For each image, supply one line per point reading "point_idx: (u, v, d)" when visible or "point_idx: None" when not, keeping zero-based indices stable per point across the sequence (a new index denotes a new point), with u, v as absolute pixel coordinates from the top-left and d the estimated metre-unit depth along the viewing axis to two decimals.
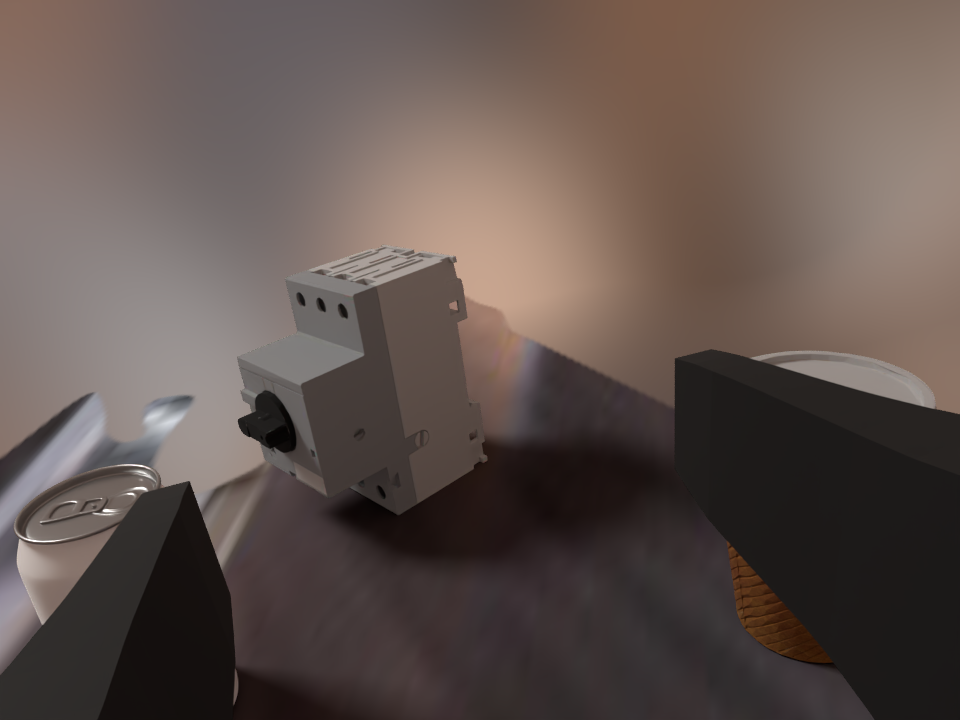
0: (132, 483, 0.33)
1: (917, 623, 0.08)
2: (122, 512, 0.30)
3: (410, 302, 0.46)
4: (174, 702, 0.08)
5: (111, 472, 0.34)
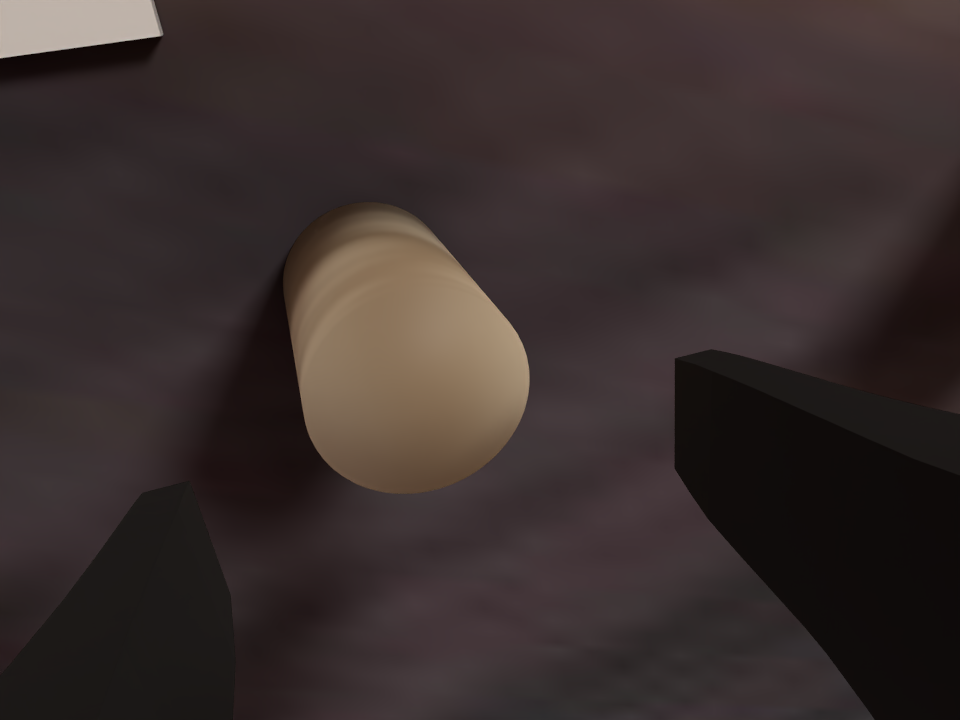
0: None
1: (917, 623, 0.08)
2: None
3: None
4: (174, 702, 0.08)
5: None
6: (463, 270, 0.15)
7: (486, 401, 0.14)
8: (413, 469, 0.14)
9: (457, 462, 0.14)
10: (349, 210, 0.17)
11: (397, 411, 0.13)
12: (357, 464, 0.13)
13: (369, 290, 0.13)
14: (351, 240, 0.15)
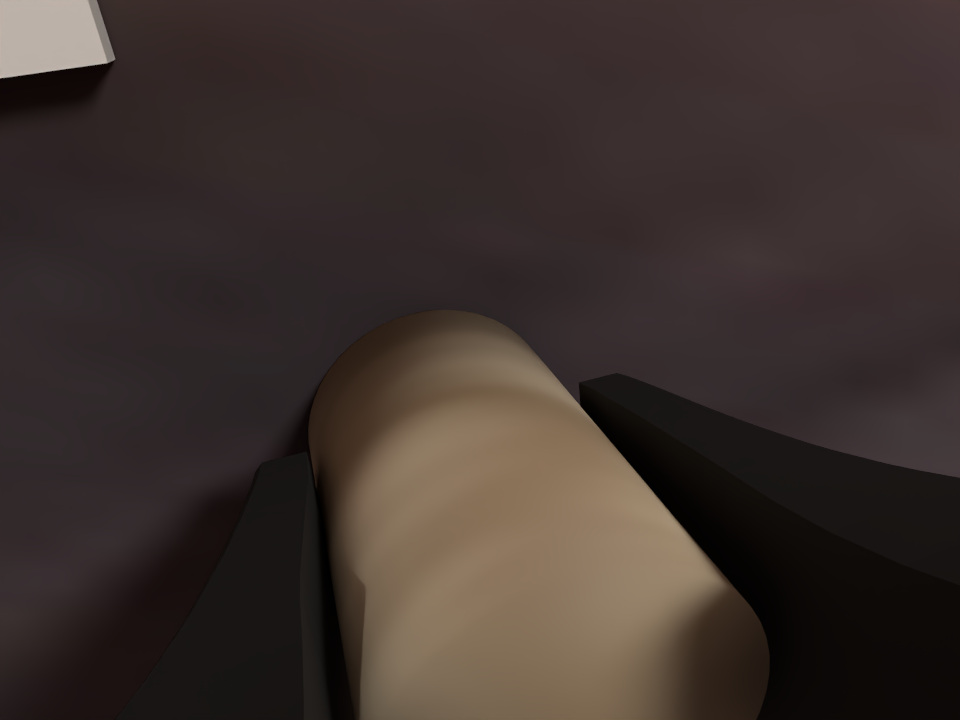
0: None
1: (786, 669, 0.07)
2: None
3: None
4: (327, 655, 0.08)
5: None
6: (623, 459, 0.09)
7: None
8: None
9: None
10: (414, 328, 0.11)
11: None
12: None
13: (495, 563, 0.06)
14: (431, 403, 0.09)
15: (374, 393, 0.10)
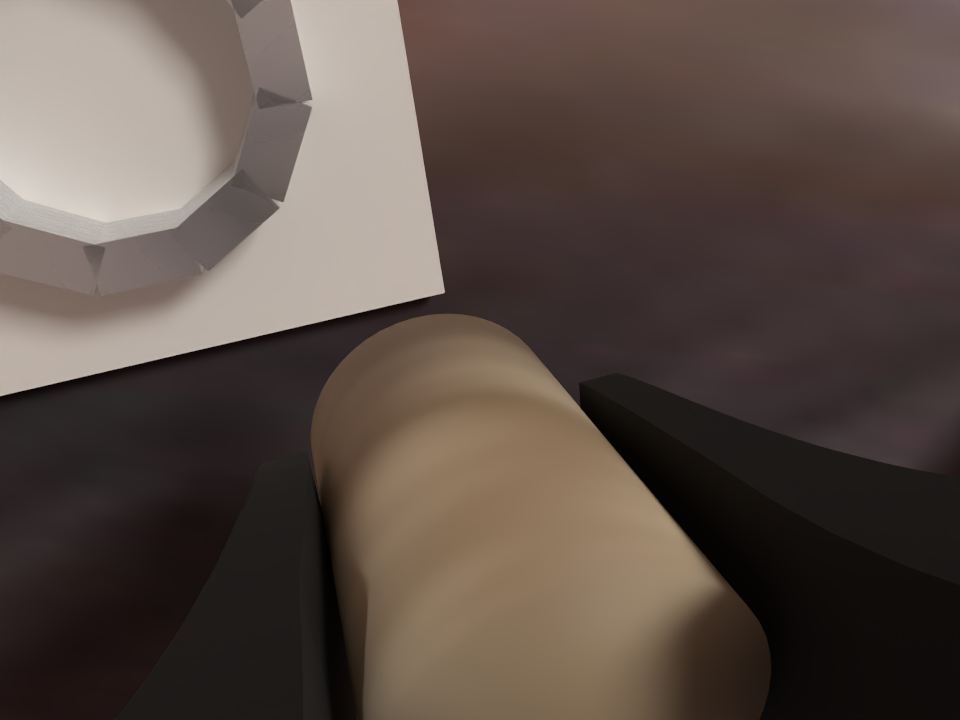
0: None
1: (786, 669, 0.07)
2: None
3: None
4: (326, 655, 0.08)
5: None
6: (621, 461, 0.09)
7: None
8: None
9: None
10: (411, 334, 0.11)
11: None
12: None
13: (490, 573, 0.07)
14: (428, 410, 0.09)
15: (373, 401, 0.10)
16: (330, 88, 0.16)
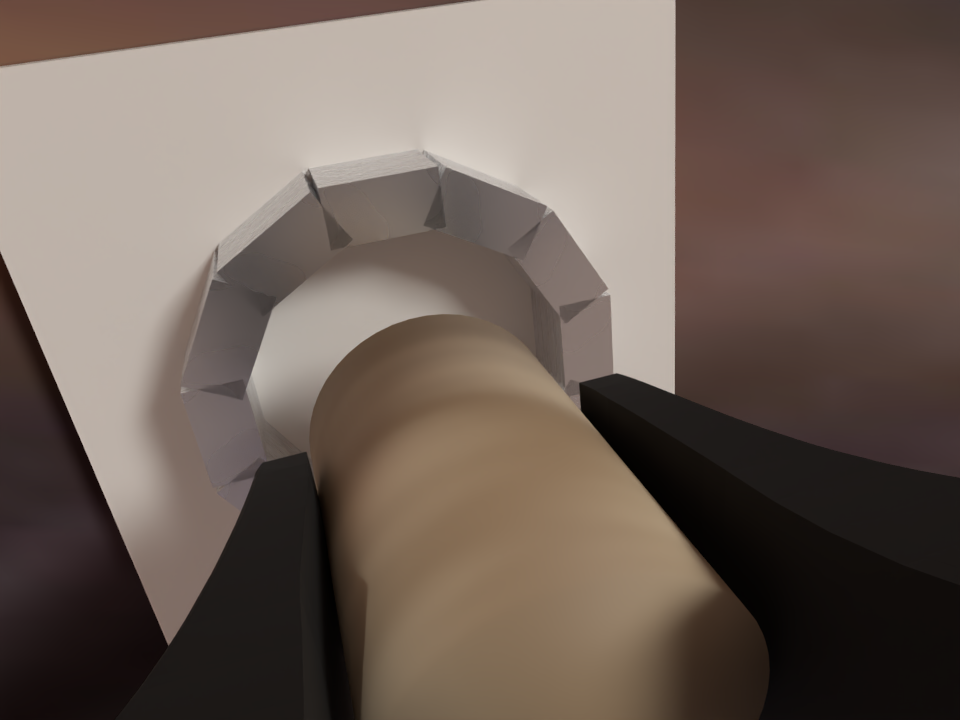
0: None
1: (786, 670, 0.07)
2: None
3: None
4: (326, 655, 0.08)
5: None
6: (617, 460, 0.09)
7: None
8: None
9: None
10: (407, 335, 0.11)
11: None
12: None
13: (484, 576, 0.07)
14: (423, 413, 0.09)
15: (369, 403, 0.10)
16: None
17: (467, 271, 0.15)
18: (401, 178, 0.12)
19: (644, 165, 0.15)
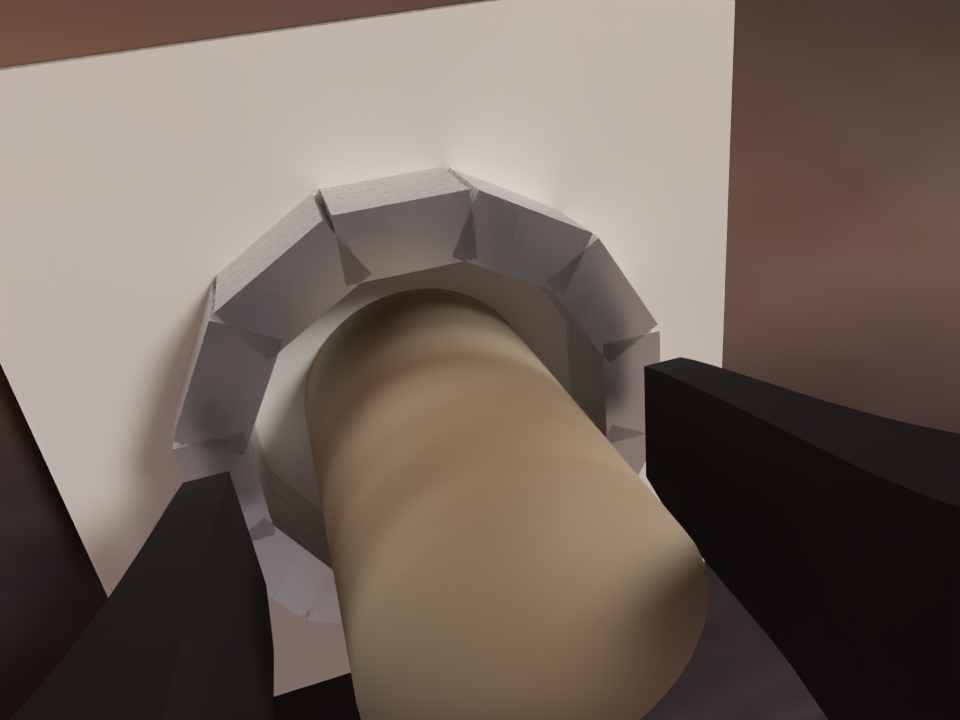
0: None
1: (875, 638, 0.08)
2: None
3: None
4: (226, 686, 0.08)
5: None
6: (580, 412, 0.10)
7: (642, 641, 0.09)
8: None
9: None
10: (394, 306, 0.12)
11: (506, 677, 0.08)
12: None
13: (454, 498, 0.08)
14: (406, 370, 0.10)
15: (358, 366, 0.11)
16: None
17: (495, 302, 0.13)
18: (427, 203, 0.10)
19: (694, 183, 0.13)
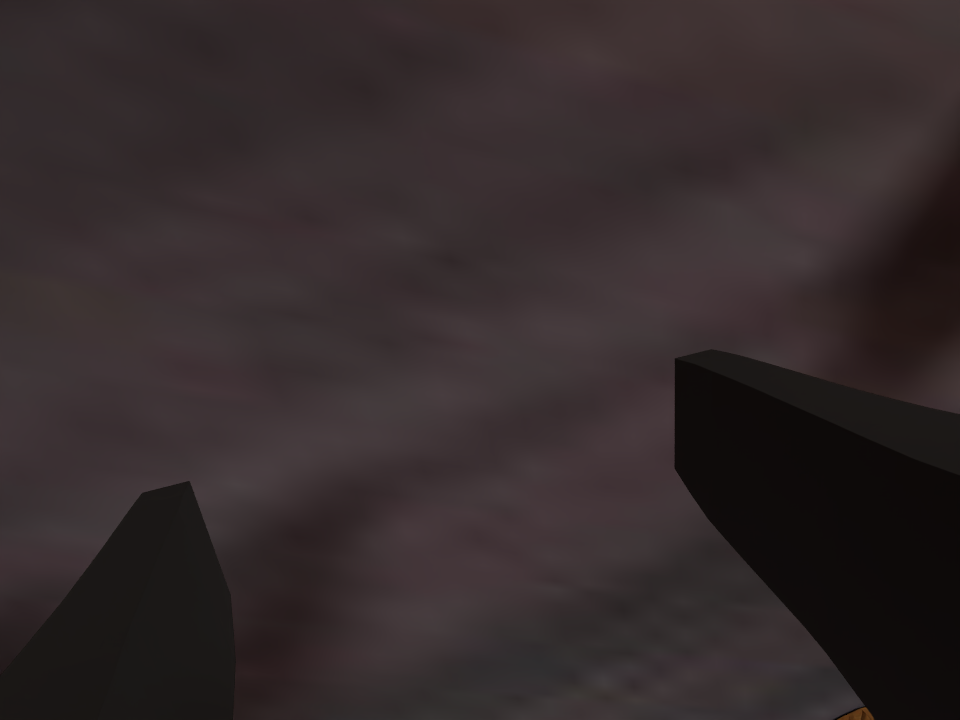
0: None
1: (917, 623, 0.08)
2: None
3: None
4: (174, 702, 0.08)
5: None
6: None
7: None
8: None
9: None
10: None
11: None
12: None
13: None
14: None
15: None
16: None
17: None
18: None
19: None
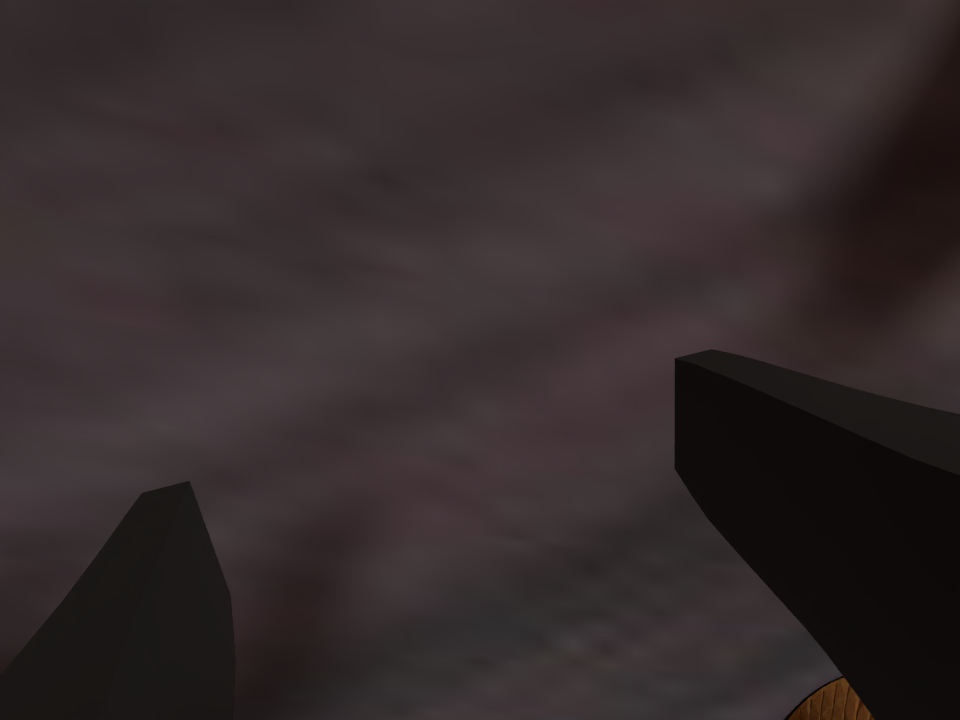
0: None
1: (917, 623, 0.08)
2: None
3: None
4: (174, 702, 0.08)
5: None
6: None
7: None
8: None
9: None
10: None
11: None
12: None
13: None
14: None
15: None
16: None
17: None
18: None
19: None
